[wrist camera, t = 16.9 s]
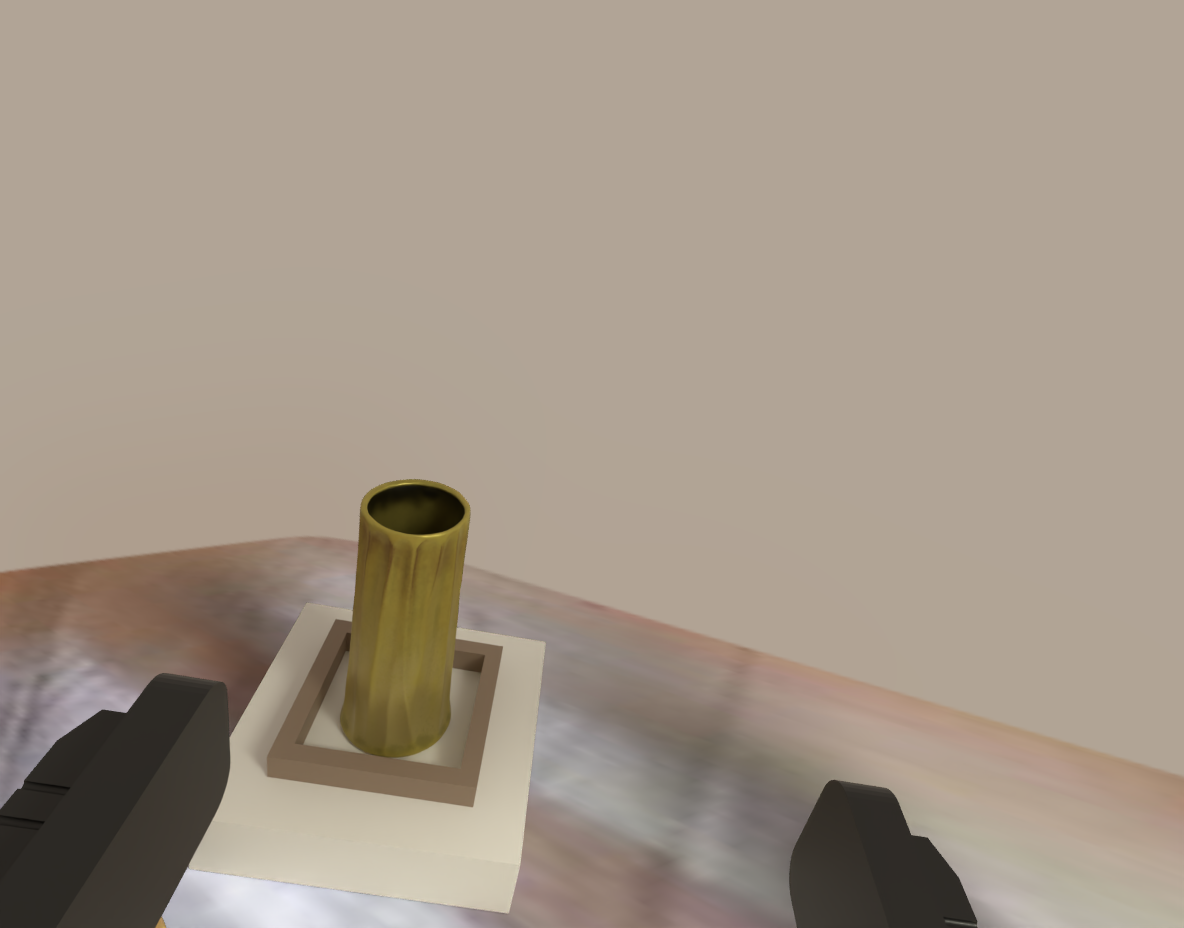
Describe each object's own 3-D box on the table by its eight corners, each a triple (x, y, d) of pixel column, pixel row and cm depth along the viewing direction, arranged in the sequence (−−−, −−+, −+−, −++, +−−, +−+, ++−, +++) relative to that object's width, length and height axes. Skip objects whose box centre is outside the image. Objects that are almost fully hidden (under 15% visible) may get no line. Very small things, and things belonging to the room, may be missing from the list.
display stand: (536, 685, 52) (549, 624, 50) (508, 913, 38) (524, 845, 36) (305, 648, 51) (306, 584, 49) (189, 869, 37) (182, 795, 35)
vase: (458, 684, 46) (487, 484, 39) (440, 767, 40) (470, 552, 34) (357, 669, 45) (370, 465, 39) (325, 752, 40) (333, 530, 33)
